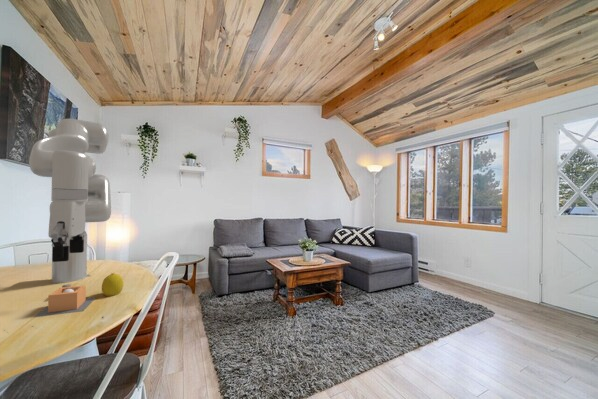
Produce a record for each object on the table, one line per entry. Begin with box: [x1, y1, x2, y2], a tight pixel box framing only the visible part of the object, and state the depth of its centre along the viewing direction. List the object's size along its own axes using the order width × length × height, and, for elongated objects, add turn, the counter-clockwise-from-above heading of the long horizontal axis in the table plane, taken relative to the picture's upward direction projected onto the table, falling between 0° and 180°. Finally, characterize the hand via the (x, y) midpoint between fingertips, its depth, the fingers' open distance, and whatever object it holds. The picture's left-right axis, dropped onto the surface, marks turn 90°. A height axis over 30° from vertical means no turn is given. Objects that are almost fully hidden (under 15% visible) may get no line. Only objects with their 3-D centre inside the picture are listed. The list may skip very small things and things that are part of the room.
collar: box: [47, 285, 87, 312], centre depth 70 cm, size 6×6×4 cm
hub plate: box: [33, 289, 97, 318], centre depth 70 cm, size 10×10×6 cm
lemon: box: [101, 272, 124, 297], centre depth 79 cm, size 6×6×8 cm
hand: (69, 256), depth 70 cm, fingers open, 9 cm apart
